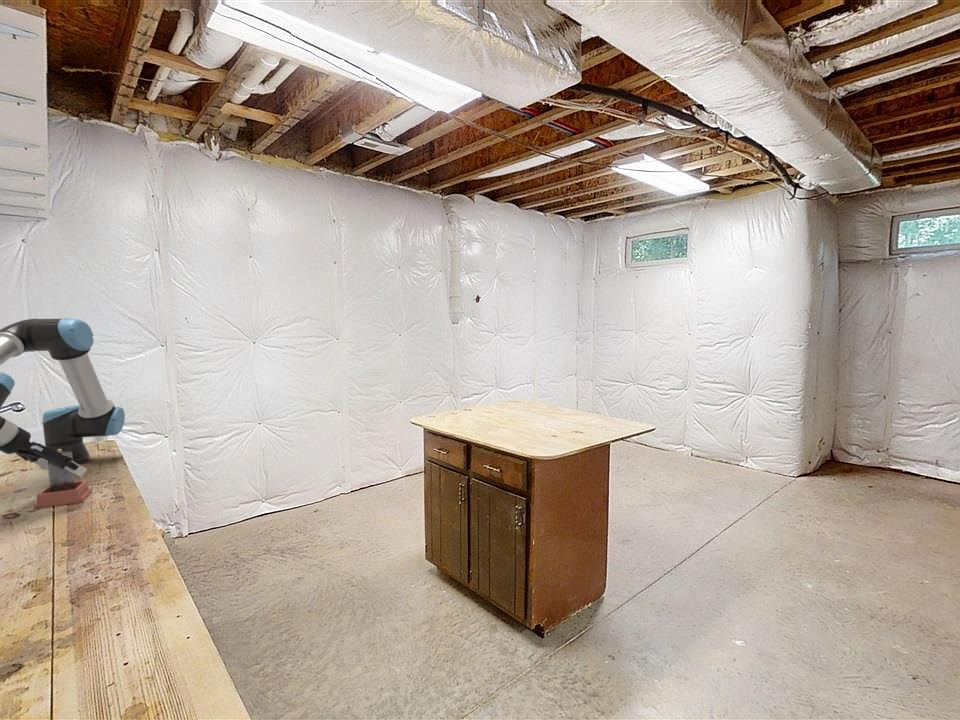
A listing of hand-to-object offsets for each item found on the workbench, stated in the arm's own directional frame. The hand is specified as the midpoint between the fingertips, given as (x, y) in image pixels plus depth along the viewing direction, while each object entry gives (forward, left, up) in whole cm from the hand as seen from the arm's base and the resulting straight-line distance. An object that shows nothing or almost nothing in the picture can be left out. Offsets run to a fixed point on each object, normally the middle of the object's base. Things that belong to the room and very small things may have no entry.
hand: (69, 471), depth 153 cm
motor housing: (+2, -2, -8) cm, 8 cm away
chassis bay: (+2, -2, -9) cm, 9 cm away
